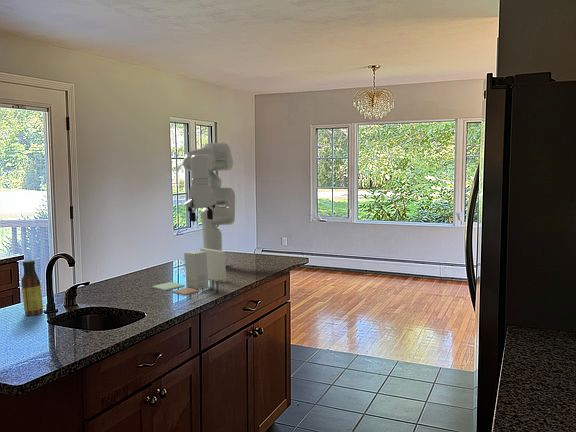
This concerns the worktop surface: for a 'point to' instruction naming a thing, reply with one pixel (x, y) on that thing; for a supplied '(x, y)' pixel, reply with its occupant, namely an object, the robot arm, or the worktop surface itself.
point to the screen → (215, 264)
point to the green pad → (168, 286)
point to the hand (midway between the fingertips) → (201, 220)
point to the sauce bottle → (31, 289)
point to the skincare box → (196, 269)
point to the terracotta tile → (185, 291)
